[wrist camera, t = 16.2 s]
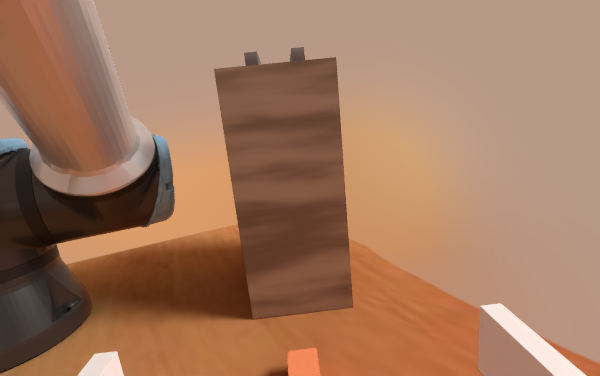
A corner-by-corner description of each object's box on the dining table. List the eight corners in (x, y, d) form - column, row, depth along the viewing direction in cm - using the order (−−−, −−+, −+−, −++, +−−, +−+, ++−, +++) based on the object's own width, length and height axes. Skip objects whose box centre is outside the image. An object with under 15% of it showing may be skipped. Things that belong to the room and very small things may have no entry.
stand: (352, 307, 36) (334, 35, 29) (252, 319, 35) (210, 47, 29) (330, 245, 53) (315, 67, 47) (262, 253, 53) (238, 74, 46)
